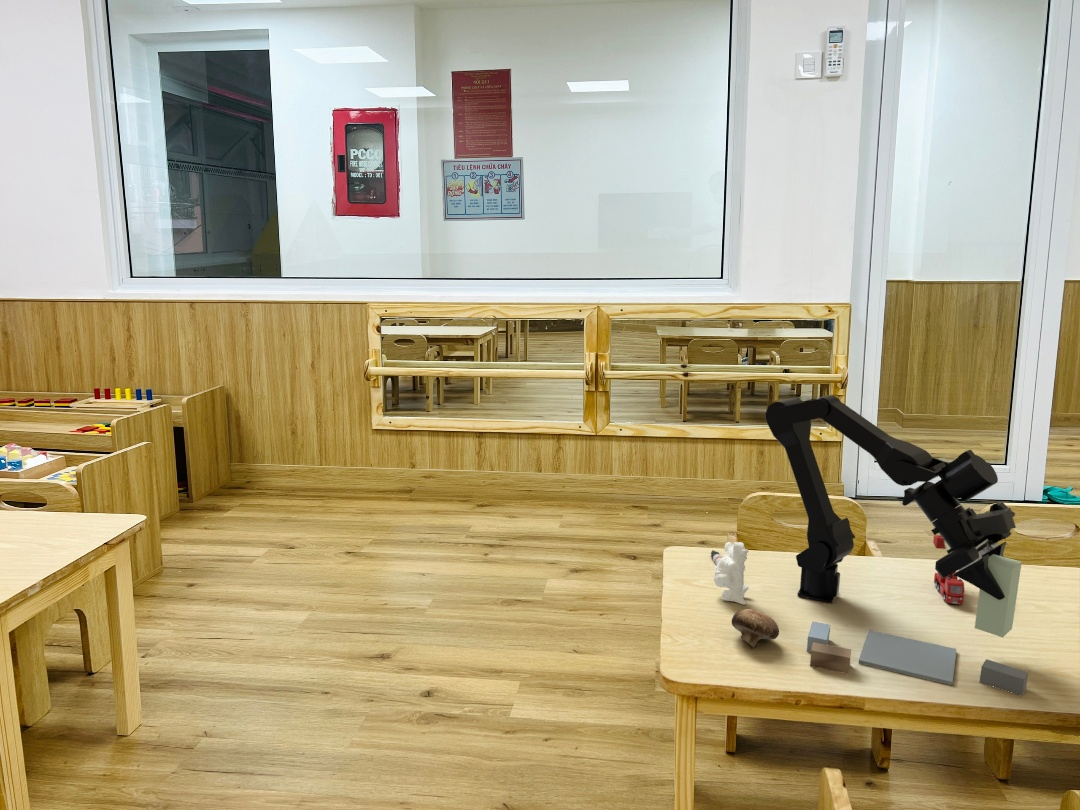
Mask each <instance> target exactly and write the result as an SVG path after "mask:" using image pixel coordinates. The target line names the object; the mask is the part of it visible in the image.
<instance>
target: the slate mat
mask: <svg viewBox="0 0 1080 810" xmlns="http://www.w3.org/2000/svg"><path fill="white" fill-rule="evenodd" d="M956 655H957V648H955V647H950V646H946V645H940V644H937V643H931V642H927V641H922V640H917V639H913V638H910V637H904V636H900V635H895V634H890V633H886V632H882V631H876V630H872V629H868V631H867V635H866V638H865V640H864V643H863V646H862V649H861V652H860V655H859V658H858V664H860V665H865V666H869V667H873V668H877V669H880V670H881V669H882V670H885V671H890V672H894V673H899V674H903V675H907V676H911V677H915V678H920V679H924V680H928V681H933V682H937V683H941V684H945V685H949V686H953V683H954V682H953V681H954V673H955V665H956Z"/></svg>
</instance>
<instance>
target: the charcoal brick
mask: <svg viewBox="0 0 1080 810" xmlns="http://www.w3.org/2000/svg"><path fill="white" fill-rule="evenodd" d="M1028 677H1029V671H1026V670H1023V669H1020V668H1018V667H1017V668H1016V667H1013V666H1010V665H1007V664H1004V663H1001V662H997V661H994V660H990V659H987V658H985V660H984V662H983V663H982V664H981V669H980V675H979V683H980V684H983V685H987V686H989V685H990V686H989V687H992V686H994V687H993V688H995V687H996V688H995V689H998V688H999V689H998V690H1001V689H1003V690H1002V691H1004V690H1006V691H1005V692H1007V691H1009V692H1008V693H1010V692H1012V693H1011V694H1013V693H1014V694H1013V695H1017V696H1020V695H1021V696H1020V697H1023V694H1024V693H1025V691H1026V690H1027V685H1028V680H1029V679H1028Z"/></svg>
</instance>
